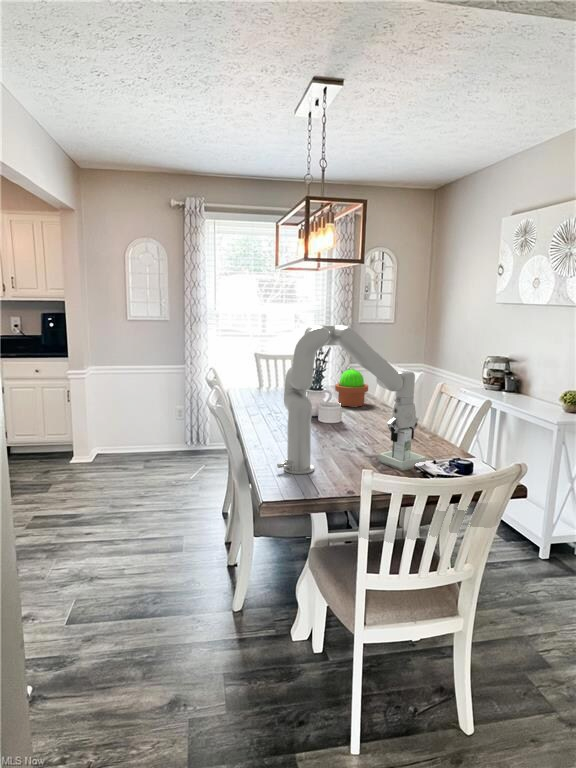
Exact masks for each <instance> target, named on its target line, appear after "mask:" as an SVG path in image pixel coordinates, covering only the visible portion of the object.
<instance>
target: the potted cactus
mask: <svg viewBox="0 0 576 768" xmlns="http://www.w3.org/2000/svg"><path fill="white" fill-rule="evenodd" d="M363 376H364V375H362V373H361V372H360V371H358V370H357V369H355V368H347V369H346V370H345V371H344V372H343V373H342V374H341V376H340V378H339V383H338V382H337V383H336V384H335V385H334V390H335V392H338V395H337V397H338V400H337V401H338V402H339V403H341V405H343V406H342V407H344V406H361V407H363V406H365V394H366V393H367V392H369V385H368V383H367V384H366V383H364V382H365V381H364V377H363ZM362 405H363V406H362Z"/></svg>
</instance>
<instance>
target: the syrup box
mask: <svg viewBox="0 0 576 768" xmlns="http://www.w3.org/2000/svg"><path fill="white" fill-rule="evenodd" d="M396 433H398V438H397V442H393V441H392V450H391V451H392V458H394V459H397V460H399V461H402V462H403V461H407V460H410V452H412V451H411V447H412V446H411V445H412V439H411V435H412V429H410V428H409V427H408V428H402V429H400V428H399V429H398V431H397V432H396Z"/></svg>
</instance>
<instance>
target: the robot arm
mask: <svg viewBox="0 0 576 768" xmlns="http://www.w3.org/2000/svg"><path fill="white" fill-rule="evenodd" d="M325 346H340V347H341V348H342V349H343V350H344V351H345V352H346V353H347V355H349V356H350V357H351V358H352V359H353V361H354V362H355V363H357V365H359V366H360V367H361V368H363V369H365V370H366V371H368V372H369V373H371V374H372V375H373V376H375V378H376V379H375V380H376V383H377V384H378V386H379V387H381V388H383V389H385V390H387V391H389V392H393V393H394V392H395V399H393V400H394V405H393V410H392V415H391V419H390V420H389V421H388V422H387V424H386V425H387V426H388V430H389V432H390V441H391V442H392V443H393V442H397V438H398V433H396V432H397V431H398V429H399V428H400V429H402V428H410V429H412V435H411V440H413V439H415V436H414V435H415V430H416V427H417V425H418V421H419V418H418V417H416V416H417V414H416V413H417V410H416V405H415V403H414V401H415V400H414V399H415V382H416V374H415V373H414V372H413V371H410V370H401V371H397V370H396V369H395V368H394V367H393V366H392V365H391V364H390V363H389V362H388V361H387V360H386V359H385V358H383V356H381V354H379V352H377V351H375V349H373V347H372V346H371V345H370V344H369V343H368V342H367V341H366V340H365V339H364V338H363V337H362V336H361V335H360V334H359V333H358V332H357V331H356V330H355V329H354V328H353V327H351V326H347V325H341V324H340V325H326V324H325V325H324V324H323V325H321V324H312V325H310V326H308V327H307V328H306V329H305V330H304V334H303V335H302V337H300V339H299V340H298V342H297V344H296V346H295V348H294V351H293V358H292V365H291V366H290V368H289V369H288V370H287V372H286V374H285V379H284V380H285V381H284V391H283V392H284V394H283V404H284V407H285V409H286V410H287V413H288V414H287V429H286V430H287V431H286V432H287V453H286V454H287V458H285V459H284V461H283V462H278V463H277V464H276V467H277V469H282V468H283V471H284V472H286V473H288V474H293V475H307V474H310V473H312V472H314V471H315V466H314V465H313V464H312V463H311V452H312V451H311V450H312V449H311V448H312V447H311V444H312V443H311V439H312V438H311V437H312V435H311V434H312V432H311V431H312V429H311V428H312V425H311V424H312V417H313V404H312V402H311V399H310V398H309V397H308V396H307V391H308V390H309V389H311V387H312V385H313V381H314V367H315V366H314V365H315V361H316V359H315V358H316V355H317V353H318V351H319V350H320V349H322V348H323V347H325Z"/></svg>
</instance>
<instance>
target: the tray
mask: <svg viewBox="0 0 576 768" xmlns="http://www.w3.org/2000/svg"><path fill="white" fill-rule="evenodd" d="M426 461H427V457H426V456H424V455H421V454H419V453H416V452H413V451H410V460H407V461H403V462H402V461H399V460H397V459H394V458H392V450H389V451H384V452H381V453H378V462H379V463H381V464H383V465H386V466H388V467H391V468H394V469H396V470H399V471H401V472H403V471H407V470H411V468H412V469H414V468H413V467H414V465H415V464H416V463H419V462H426ZM426 463H427V462H426Z"/></svg>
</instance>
